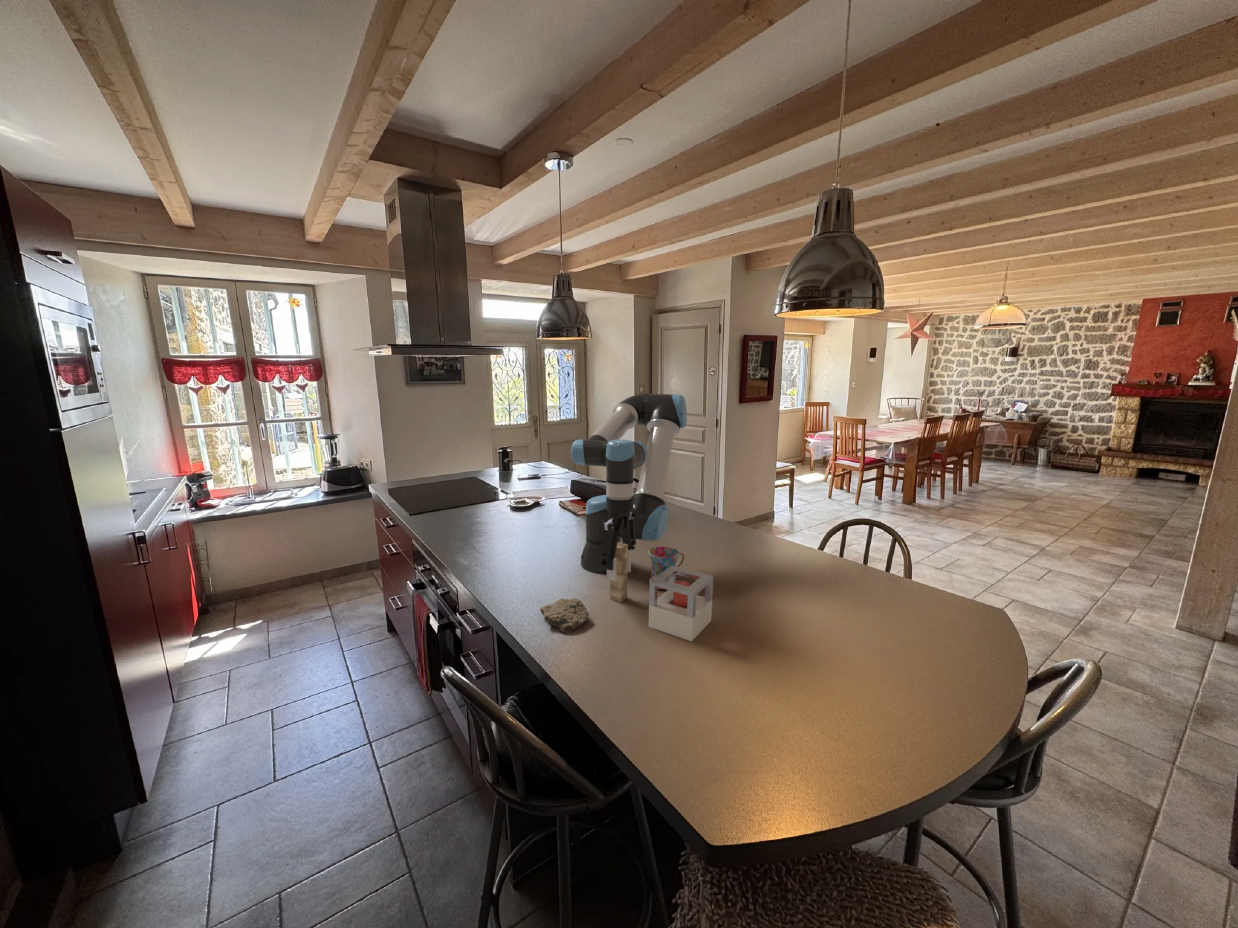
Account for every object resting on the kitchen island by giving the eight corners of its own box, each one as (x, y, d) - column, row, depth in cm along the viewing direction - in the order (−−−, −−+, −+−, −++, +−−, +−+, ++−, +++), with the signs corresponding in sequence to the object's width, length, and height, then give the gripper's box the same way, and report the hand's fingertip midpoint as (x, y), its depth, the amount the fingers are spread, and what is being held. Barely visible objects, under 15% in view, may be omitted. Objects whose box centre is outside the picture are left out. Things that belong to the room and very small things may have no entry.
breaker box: (670, 608, 135) (671, 587, 134) (711, 620, 128) (712, 599, 127) (648, 626, 125) (649, 604, 124) (691, 641, 119) (692, 618, 117)
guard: (671, 587, 134) (671, 565, 132) (712, 599, 127) (713, 575, 126) (649, 604, 124) (649, 580, 123) (692, 618, 117) (693, 593, 116)
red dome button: (677, 605, 129) (678, 579, 127) (691, 610, 127) (692, 582, 125) (670, 612, 125) (671, 584, 124) (684, 616, 123) (685, 588, 122)
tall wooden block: (616, 594, 143) (617, 542, 140) (627, 597, 141) (627, 544, 138) (610, 598, 140) (610, 545, 137) (620, 602, 138) (621, 548, 135)
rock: (551, 637, 120) (550, 620, 119) (538, 615, 131) (537, 600, 130) (593, 627, 125) (593, 611, 124) (577, 607, 135) (577, 592, 134)
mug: (657, 594, 143) (658, 559, 141) (642, 582, 151) (642, 549, 149) (691, 586, 148) (693, 553, 146) (674, 575, 157) (675, 543, 154)
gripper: (627, 487, 145) (626, 561, 149) (587, 502, 129) (587, 584, 133) (649, 491, 141) (647, 566, 145) (610, 506, 125) (610, 591, 129)
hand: (618, 575), depth 139 cm, fingers open, 7 cm apart
